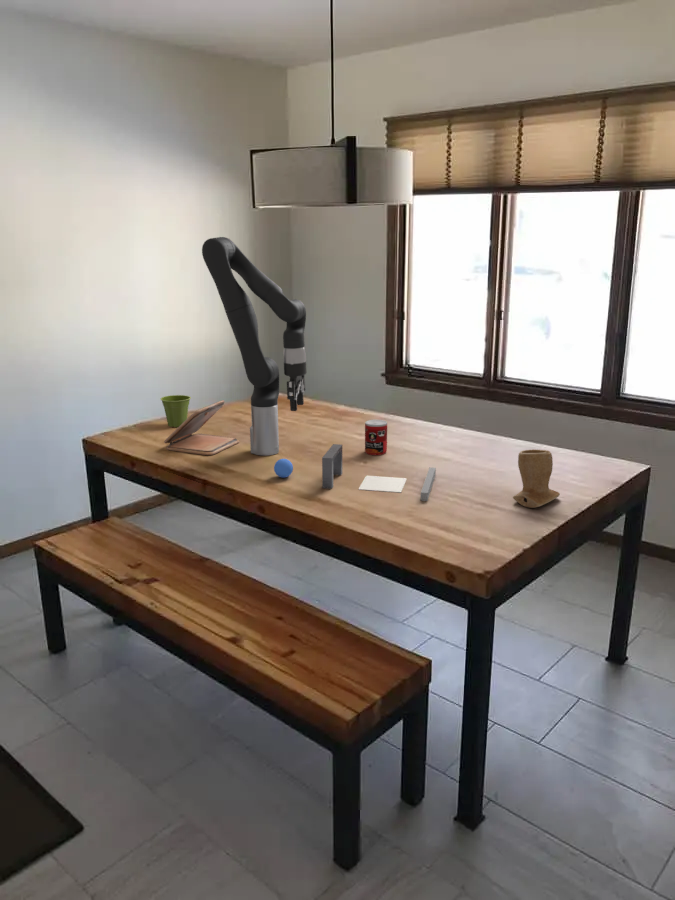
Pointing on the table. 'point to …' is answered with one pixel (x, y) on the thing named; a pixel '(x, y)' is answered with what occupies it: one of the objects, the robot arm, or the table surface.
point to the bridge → (331, 465)
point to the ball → (283, 468)
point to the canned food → (376, 437)
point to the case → (199, 442)
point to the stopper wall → (428, 484)
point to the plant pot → (176, 409)
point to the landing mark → (383, 484)
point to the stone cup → (535, 478)
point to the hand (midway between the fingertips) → (297, 407)
